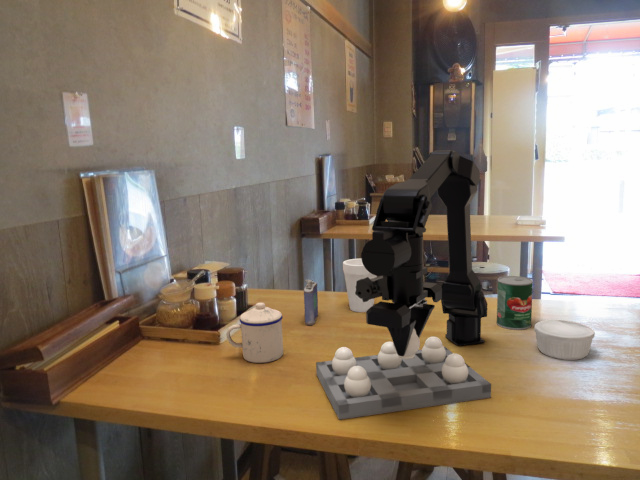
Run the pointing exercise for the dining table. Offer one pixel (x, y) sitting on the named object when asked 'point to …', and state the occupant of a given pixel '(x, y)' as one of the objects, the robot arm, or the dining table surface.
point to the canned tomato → (514, 302)
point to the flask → (310, 302)
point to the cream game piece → (411, 346)
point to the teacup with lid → (260, 334)
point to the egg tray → (398, 380)
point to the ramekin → (563, 339)
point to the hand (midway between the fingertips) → (407, 350)
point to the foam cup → (353, 273)
